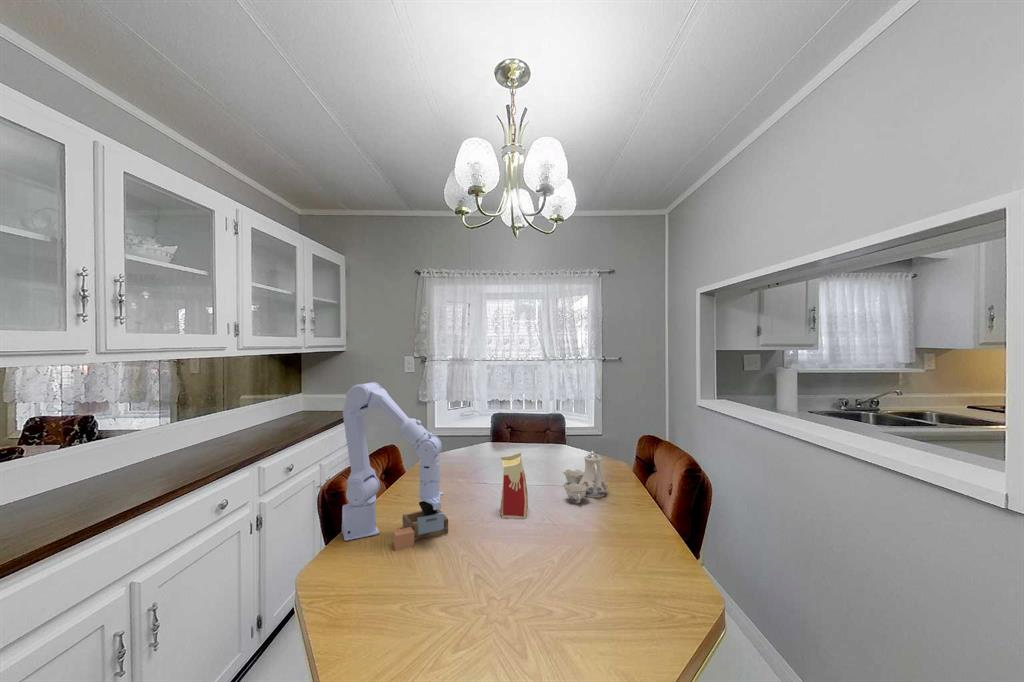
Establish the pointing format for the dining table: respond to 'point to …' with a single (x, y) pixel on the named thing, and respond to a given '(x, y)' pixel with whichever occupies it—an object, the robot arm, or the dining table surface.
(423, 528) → the panel
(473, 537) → the dining table surface
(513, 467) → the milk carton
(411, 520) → the crate
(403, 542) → the orange brown block
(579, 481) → the chinaware
